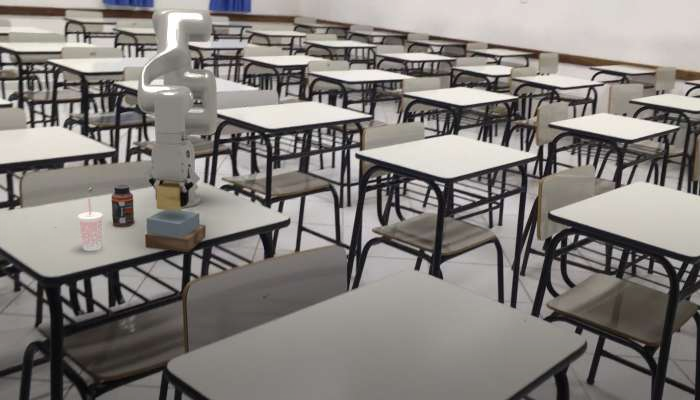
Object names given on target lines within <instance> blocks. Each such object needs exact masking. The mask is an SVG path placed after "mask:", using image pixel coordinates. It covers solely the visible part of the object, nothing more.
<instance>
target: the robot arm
mask: <svg viewBox="0 0 700 400" xmlns="http://www.w3.org/2000/svg"><path fill="white" fill-rule="evenodd" d="M151 22H152V27H153V28H152V29H153V31H154V34H155V37H156V39H157V40H156V41H157V46H156V54H155V55H154V56H153V57H151V58H150V59H148V61H147V62H146V63H145V64H144V66H143V67H142V69H141V70H140V71H139V72H140V73H139V75H138V80H137V81H138V82H137V85H138V86H137V104H138V107H139V110H141V112H143V113H145V114H154V131H155V132H154V134H155V135H154V137H155V141H154V142H153V143H152V150H151V158H150V167H149V168H148V169H146V171H145V172H143V176H144V178H145V179H146V180H147V181H148V183H150V185H151V186H152V187H153V190H155V191H154V192H155V193H156V187H157V186H159V185H160V184H162V183H164V182H166V181H169V182H179V184H180V187H181V189H182V192H181V193H180V199H181V207H183V208H190V207H195V206H197V205H199V204H200V203H201V197H200V196H199V195H197V194H196V190H197V189H198V188H199V185H198V184H197V183H198V182H199V181H200V179H201V178H200V176H199V175H198V174H197V173H196V166H195V165H196V164H195V163H196V161H195V160H196V158H195V147H194V145H193V143H192V141H190V140H191V136H210V135H213V134H215V132H216V131H217V127H218V97H217V96H218V95H217V94H218V93H217V80H216V75H215V74H214V73H213V71H211V70H209V69H204V68H203V69H202V68H193V67H192V51H191V50H190V49H189V42H192V43H195V42H196V43H206V42H208V41H210V38H211V36H212V30H213V20H212V16H211V13H210V12H209V11H208V10H206V9H204V10H203V9H188V8H185V9H184V8H161V9H157V10H155V11H154V12H153V13H152V17H151ZM162 76H163V84H152V82H153V81H154V80H156V79H158V78H159V77H162ZM194 101H200V102H201V103H202V104H195V103H194ZM155 200H156V201H157V197H156V196H155ZM187 203H188V205H187ZM185 205H186V206H185ZM184 206H185V207H184Z"/></svg>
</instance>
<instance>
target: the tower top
mask: <svg viewBox="0 0 700 400" xmlns="http://www.w3.org/2000/svg"><path fill="white" fill-rule="evenodd" d="M145 221H146V234H147V233H152V234H157V235H162V236H168V237H173V238H179V239H180V238H181V237H183V236H185V235H187V234H188V233H190V232H192V231H194V230H196V229H197V228H199V227H200V225H201V224H200V221H201V220H200V213H199V212H192V211H187V210H183V209H181V210H179V211H173V210H163V209H162V210H161V211H159V212H157V213H155V214H153V215H151V216H149V217H146V220H145Z"/></svg>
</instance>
